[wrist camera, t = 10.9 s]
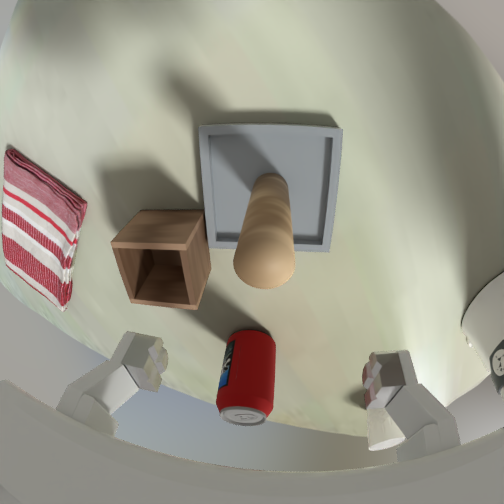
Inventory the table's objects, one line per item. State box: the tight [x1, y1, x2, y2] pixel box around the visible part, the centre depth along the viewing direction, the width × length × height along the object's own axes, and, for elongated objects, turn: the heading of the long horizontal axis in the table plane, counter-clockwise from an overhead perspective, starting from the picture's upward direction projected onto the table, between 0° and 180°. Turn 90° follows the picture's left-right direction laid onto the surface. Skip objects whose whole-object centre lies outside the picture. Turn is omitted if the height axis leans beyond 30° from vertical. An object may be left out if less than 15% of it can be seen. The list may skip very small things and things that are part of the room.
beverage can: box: [216, 330, 276, 426], centre depth 32 cm, size 7×7×12 cm
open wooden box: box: [111, 210, 211, 310], centre depth 26 cm, size 7×7×7 cm
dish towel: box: [2, 149, 87, 312], centre depth 30 cm, size 17×23×3 cm
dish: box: [198, 123, 343, 252], centre depth 24 cm, size 12×12×1 cm
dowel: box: [233, 173, 295, 289], centre depth 19 cm, size 3×3×12 cm
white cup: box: [367, 408, 405, 450], centre depth 44 cm, size 8×8×10 cm
